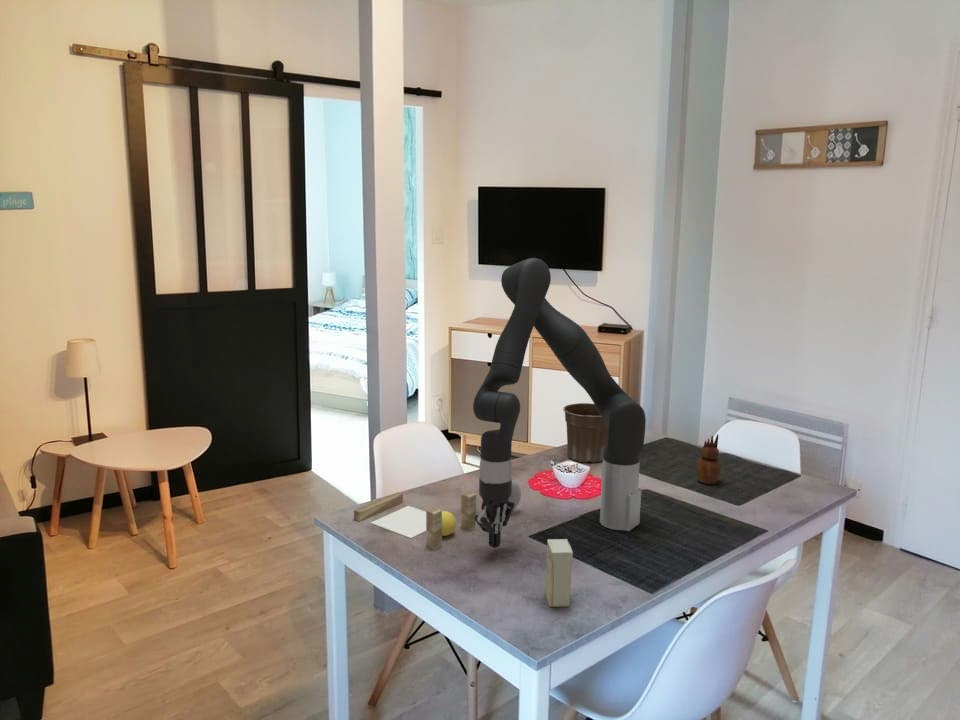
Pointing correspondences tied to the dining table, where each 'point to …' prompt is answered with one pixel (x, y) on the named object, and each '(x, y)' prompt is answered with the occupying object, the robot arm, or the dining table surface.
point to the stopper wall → (378, 506)
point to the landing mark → (404, 522)
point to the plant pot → (585, 432)
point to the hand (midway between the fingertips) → (494, 546)
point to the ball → (448, 523)
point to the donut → (515, 494)
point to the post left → (434, 528)
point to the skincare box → (558, 572)
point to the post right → (468, 511)
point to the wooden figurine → (709, 463)
